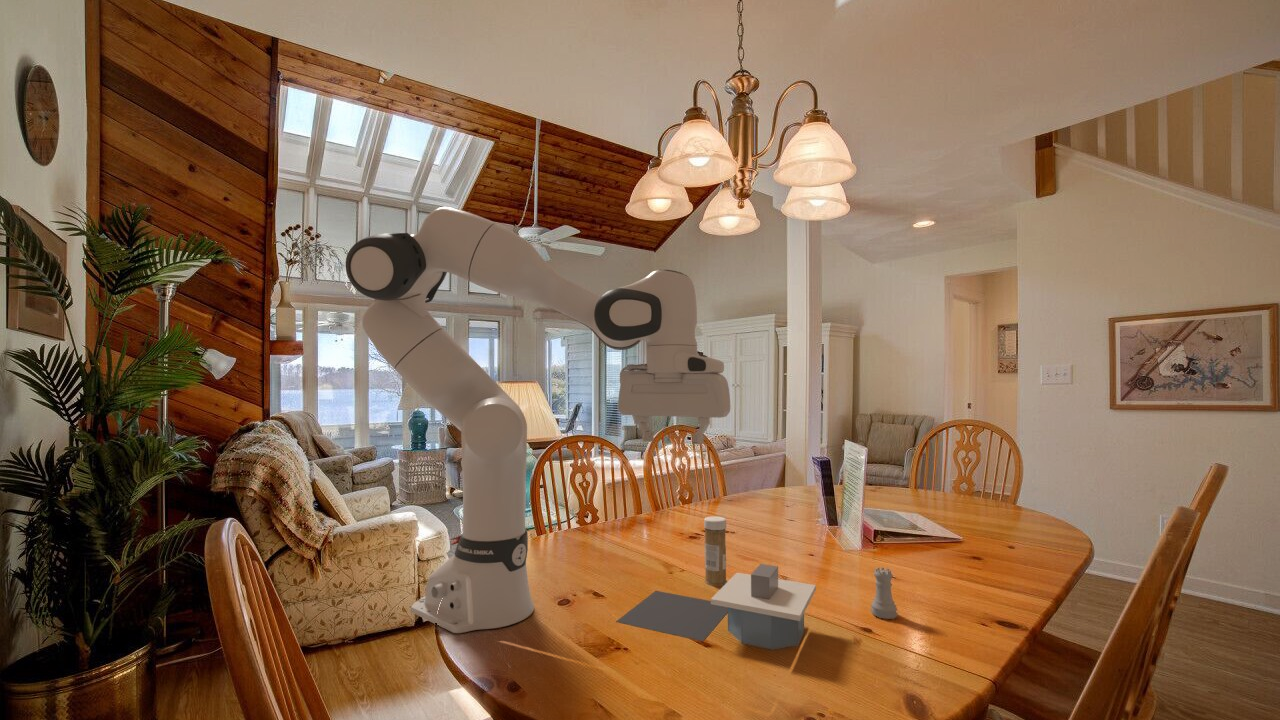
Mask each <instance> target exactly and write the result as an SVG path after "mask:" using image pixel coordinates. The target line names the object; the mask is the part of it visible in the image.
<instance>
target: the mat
mask: <svg viewBox="0 0 1280 720" xmlns="http://www.w3.org/2000/svg"><path fill="white" fill-rule="evenodd" d="M726 615H728V607H723V606H718V605H713V604H711V600H708V599H701V598H696V597H692V596H687V595H679V594H677V593H671V592H670V593H669V592H665V591H660V590H655V591H654V592H653V591H652V593H651V594H650V595H648V596H647V597H645V598H644V599H642V600H641V601H640V602H639V603H637V604H636V606H634V607H632V608H630V610H628V611H627V612H626V613H625V614H623V615H622V616H621V617H620V618H619V619H618V620H616V621H615V623H619V624H624V625H628V626H630V627H631V626H632V627H637V628H641V629H645V630H650V631H654V632H657V633H658V632H659V633H662V634H666V635H667V634H668V635H673V636H677V637H681V638H686V639H689V640H694V641H698V642H704V641H705V640H706V639H707V637H708V636H709V635H710V634H711V633H712V632H713V631H714V630H715V628H716V627H717V626H718V625H719V624H720V622H721V621H722V620H723V618H724V617H726Z"/></svg>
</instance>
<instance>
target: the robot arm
mask: <svg viewBox="0 0 1280 720" xmlns="http://www.w3.org/2000/svg"><path fill="white" fill-rule="evenodd" d="M345 272H346V277H347V278H348V280H349V282H350V283H351V285H352V286H353V287H354V288H355V290H356V291H357V292H359V293H360V294H362V295H363V296H366V297H367V298H370V299H373V300H374V301H373V302H372V303H371V304H370V305H369V306H368V307H367V308H366V310H365V313H364V314H363V317H362V321H361V322H362V323H361V324H362V328H363V330H364V332H365V334H366V335H367V337H368V338H369V340H370V341H371V343H372V344H373V346H374V347H375V349H377V351H378V352H379V354H380V355H381V356H382V357H383V358H384V360H385V361H386V362H387V364H389V366H391V367H392V368H393V369H394V371H396V373H397V374H398V375H400V377H401V378H402V379H403V380H404V381H406V383H407V384H409V386H410V387H412V388H413V390H414V391H415V392H416V393H418V394H419V396H420V397H421V398H422V399H423V400H424V401H425V402H426V404H429V405H430V406H431V407H432V408H434V409H435V410H436V411H437V412H439V414H441V415H442V416H443V417H444V418H445V419H447V420H448V421H449V423H451V424H452V425H453V426H454V427H456V429H457V430H458V431H460V433H461V436H460V437H461V443H460V444H461V474H462V533H461V534H460V535H458V536H456V537H453V538H450V540H451V541H453V542H451V543H450V545H451V546H453V545H455V544H457V545H456V547H455V550H454V555H452V556H451V557H449V559H447V560H446V561H445V562H444V563H442V564H441V565H440V566H439V567H437V568H436V569H435V570H433V572H431V574H430V575H429V576H428V578H427V581H426V585H425V595H424V596H422V597H421V598H419V599H418V600H416V601H415V602H414V603H413V604H412V605H411V607H410V612H411V613H412V614H414V615H417V616H418V617H420V618H422V619H424V620H426V621H428V622H430V623H432V624H434V625H436V624H435V623H436V614H437V610H438V607H439V604H440V602H441V604H440V607H439V610H438V614H437V625H436V626H438V624H439V627H441V628H443V629H444V630H447V631H449V632H450V633H453V634H463V633H467V632H471V631H476V630H477V631H478V630H489V629H498V628H503V627H507V626H511V625H514V624H516V623H520V622H521V621H524V620H525V619H527V618H528V617H530V616H531V615H532V613H533V612H534V610H535V606H534V604H533V600H532V596H531V590H530V584H529V579H528V570H527V567H528V566H527V558H528V557H527V556H528V551H529V549H528V547H529V546H528V544H529V543H528V542H529V540H528V539H529V538H528V537H529V536H528V531H527V530H526V499H527V497H526V493H527V492H526V491H527V490H526V489H527V488H526V487H527V485H526V484H527V454H528V453H527V450H528V448H527V447H528V426H527V425H528V424H527V420H526V417H525V414H524V412H523V410H522V409H521V407H520V406H519V404H517V403H516V402H515V401H514V399H512V398H511V396H509V395H508V393H507V392H506V391H504V389H503V388H502V387H501V386H500V385H499V384H498V383H497V382H496V381H495V380H494V379H493V378H492V377H491V376H490V375H489V374H488V373H487V372H486V371H485V369H483V368H482V367H481V366H480V364H478V363H477V362H476V360H475V359H473V357H472V356H471V355H470V354H468V352H467V351H466V350H465V349H464V348H463V347H462V346H461V344H459V342H458V341H456V340H455V339H454V337H453V336H452V335H450V333H449V332H448V331H446V329H445V328H444V327H443V326H442V325H441V324H440V323H439V322H438V321H437V320H436V319H435V318H434V317H433V316H432V314H431V313H430V312H429V310H428V309H427V305H426V303H427V304H428V303H430V302H431V301H433V299H434V297H435V295H436V293H437V292H438V289H439V288H440V287H441V286H442V283H443V282H444V280H445V279H446V276H447V273H448V274H449V273H450V274H452V275H455V276H457V277H459V278H460V279H461V278H462V279H464V280H466V281H468V282H470V283H472V284H475V285H477V286H479V287H481V288H484V289H486V290H489V291H493V292H495V293H497V294H498V293H499V294H502V295H506V296H508V297H509V296H510V297H514V298H516V299H517V298H518V299H522V300H525V301H529V302H532V303H535V304H539V305H543V306H545V307H547V308H549V309H551V310H554V311H555V312H557V313H559V314H562V315H564V316H565V317H568V318H570V319H572V320H573V321H574V320H575V321H576V322H578V323H580V324H582V325H584V326H586V327H587V328H588V329H589V330H591V332H592V333H593V334H594V335H595V336H596V337H597V338H598V340H599V341H600V342H601V343H602V344H603V345H605V346H606V347H608V348H610V349H612V350H616V351H626V350H630V349H632V348H634V347H636V346H637V345H638V344H639V343H641V342H642V341H645V343H646V363H640V364H633V363H631V364H630V363H629V364H627V365H626V366H624V367H623V368H621V371H619V384H620V385H619V392H618V399H617V410H618V412H619V413H620V414H621V416H635V419H636V420H635V422H636V425H638V428H639V429H640V431H641V436H642V437H641V438H642V439H641V440H642V442H644V443H649V442H650V443H652V442H654V439H655V437H654V435H655V431H653V430H650V428H649V426H648V424H647V422H648V421H649V417H681V418H682V417H686V418H687V417H688V418H697V424H698V425H700V426H699V428H698V429H697V431H696V432H694V433H691V439H692V440H691V443H692V445H704V441H705V440H704V439H705V438H704V434H705V433H706V431H707V429H708V428H709V426H710V423H711V421H710V419H711V418H716V419H719V418H725V417H727V416H728V415H729V414H730V413H731V394H730V388H729V387H730V386H729V384H728V381H727V378H726V376H725V375H723V374H722V373H723V372H724V371H725V363H724V361H721V359H716V358H713V357H710V356H708V355H706V354H705V355H704V354H700V353H699V352H698V343H697V339H696V333H695V332H696V326H697V322H698V312H697V311H698V310H697V309H698V307H697V296H696V289H695V288H696V287H695V286H694V285H695V284H694V282H693V281H692V279H691V278H690V277H689V275H687V274H684V273H683V272H681V271H677V270H673V269H654V270H652V271H651V272H650V273H648V275H647V276H645V277H642V279H639V280H637V281H635V282H632V283H631V284H628V285H623V286H620V287H616V288H613V289H610V290H607V291H606V292H605V293H603V295H599V294H597V293H595V292H594V291H591V290H589V289H587V288H585V287H584V286H581V285H579V284H577V283H575V282H573V281H572V280H569V279H567V278H565V277H564V276H562V275H561V274H559V273H558V272H557V271H555V270H554V269H553V268H552V267H551V265H549V264H548V262H546V260H545V259H544V258H543V256H542V255H541V254H540V253H539V252H538V251H537V249H536V248H535V247H534V246H533V245H532V244H531V243H530V242H529V241H527V240H526V239H524V238H523V237H521V236H520V235H518V234H517V233H516V232H514V231H512V230H511V229H509V228H508V227H505V226H503V225H501V224H499V223H496V222H495V221H492V220H490V219H487V218H485V217H482V216H480V215H477V214H474V213H472V212H468V211H465V210H462V209H458V208H453V207H447V206H442V207H438V208H436V209H434V210H432V211H431V212H430V213H429V214H428V215H426V217H425V218H424V220H423V222H422V224H421V227H420V229H419V230H418V232H416V233H414V234H410V233H409V232H405V231H401V232H399V231H398V232H390V233H389V232H388V233H387V232H386V233H378V234H377V233H376V234H373V235H369V236H366V237H364V238H362V239H360V240H358V241H357V242H356V243H354V244H353V245H352V246H351V248H350V249H349V250H348V252H347V255H346V257H345ZM442 598H443V599H442ZM441 600H442V601H441Z"/></svg>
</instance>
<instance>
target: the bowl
mask: <svg viewBox="0 0 1280 720" xmlns="http://www.w3.org/2000/svg"><path fill="white" fill-rule="evenodd" d="M727 631H728V632H729V633H730V634H731V635H732V636H734V637H735V638H736V639H737V640H738V642H740V643H741V644H744V645H749V646H752V647H753V646H754V647H759V648H762V649H766V650H767V649H768V650H771V651H773V650H777V649H783V648H790V647H796V646H799V645H800V642H801V639H802V638H803V637H804V636H803V635H804V634H805V613H804V614H803V616H802V618H801V620H800V621H797V620H792V619H786V618H781V617H776V616H771V615H765V614H760V613H755V612H750V611H744V610H739V609H734V608H729V607H728V613H727Z"/></svg>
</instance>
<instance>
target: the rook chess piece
mask: <svg viewBox="0 0 1280 720" xmlns="http://www.w3.org/2000/svg"><path fill="white" fill-rule="evenodd" d="M873 576H874V577H875V579H876V580H875V582H874V584H875V587H876V589H875V596H874V598H873V601H872V602H871V604H870V606H871V609H870V612H871V614H872V615H873V616H874V615H875V616H877V617H876V618H878V617H879V618H878V619H881V618H883V619H882V620H886V619H892V620H895V619H896V618H897V617H898V612H897V611H898V608H897V605H896V604H895V601H894V599H893V595H892V586H893V583H892V582H891V581H892V580H893V578H894V575H893V574H892V570H891V569H889V568H887V567H886V568H885V567H876V568H875V571H874V572H873ZM875 616H874V617H875Z"/></svg>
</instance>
